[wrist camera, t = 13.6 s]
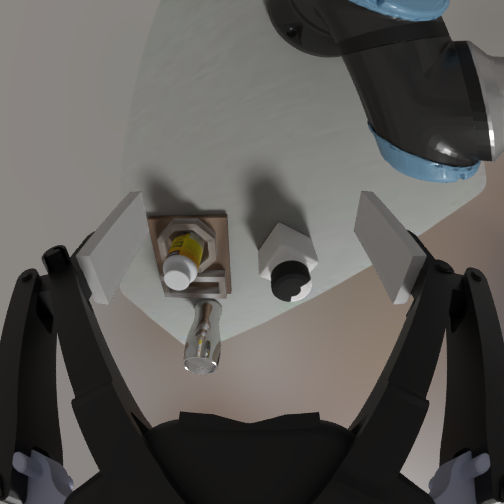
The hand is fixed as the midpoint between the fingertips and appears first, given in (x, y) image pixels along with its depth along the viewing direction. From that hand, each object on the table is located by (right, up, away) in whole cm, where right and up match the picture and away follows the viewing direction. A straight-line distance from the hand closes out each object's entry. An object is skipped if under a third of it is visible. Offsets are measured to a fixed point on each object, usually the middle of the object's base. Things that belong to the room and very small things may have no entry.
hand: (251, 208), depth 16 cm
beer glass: (-9, -15, +43) cm, 46 cm away
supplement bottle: (-11, -1, +32) cm, 34 cm away
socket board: (-11, -3, +35) cm, 37 cm away
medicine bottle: (+6, -1, +33) cm, 34 cm away
